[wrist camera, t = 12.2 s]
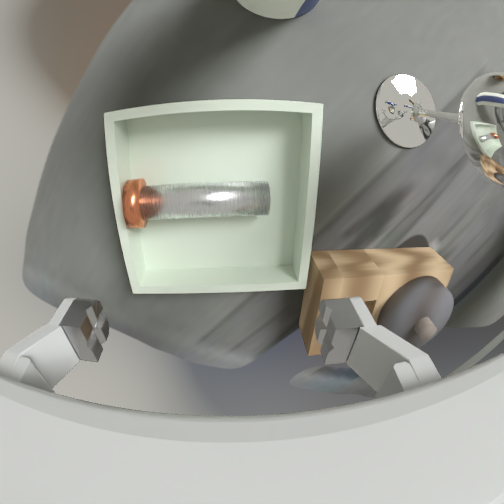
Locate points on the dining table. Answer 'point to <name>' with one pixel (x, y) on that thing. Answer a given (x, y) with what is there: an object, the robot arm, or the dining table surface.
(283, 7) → the water bottle
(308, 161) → the tray
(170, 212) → the lock pin
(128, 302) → the dining table surface
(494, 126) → the wineglass
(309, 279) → the block
